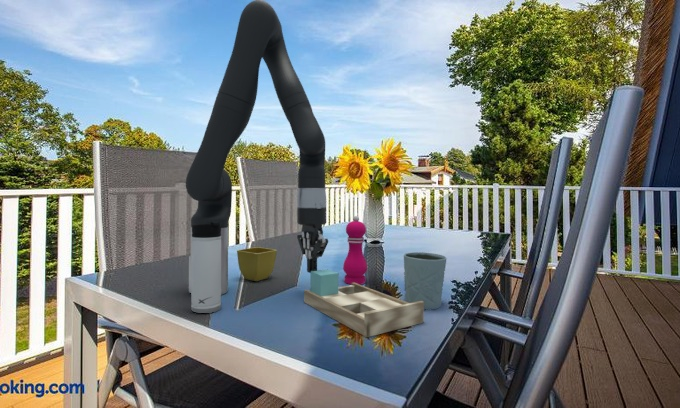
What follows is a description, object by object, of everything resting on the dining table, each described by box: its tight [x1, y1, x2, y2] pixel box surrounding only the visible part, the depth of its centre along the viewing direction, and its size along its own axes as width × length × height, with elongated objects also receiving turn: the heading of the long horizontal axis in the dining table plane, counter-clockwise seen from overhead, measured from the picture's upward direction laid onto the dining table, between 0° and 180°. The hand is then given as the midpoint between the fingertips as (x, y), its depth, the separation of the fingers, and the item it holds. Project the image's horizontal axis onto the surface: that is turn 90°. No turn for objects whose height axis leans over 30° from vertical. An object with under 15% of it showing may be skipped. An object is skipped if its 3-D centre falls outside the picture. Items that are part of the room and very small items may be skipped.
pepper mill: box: [342, 215, 368, 285], centre depth 109 cm, size 7×7×20 cm
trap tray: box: [303, 283, 425, 338], centre depth 83 cm, size 15×25×4 cm, turn 33°
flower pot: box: [236, 246, 278, 282], centre depth 111 cm, size 9×9×9 cm
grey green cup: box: [403, 251, 448, 311], centre depth 89 cm, size 10×10×12 cm
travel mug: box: [190, 222, 222, 314], centre depth 82 cm, size 6×7×20 cm
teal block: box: [309, 269, 340, 296], centre depth 89 cm, size 5×5×5 cm
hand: (312, 272), depth 95 cm, fingers closed
